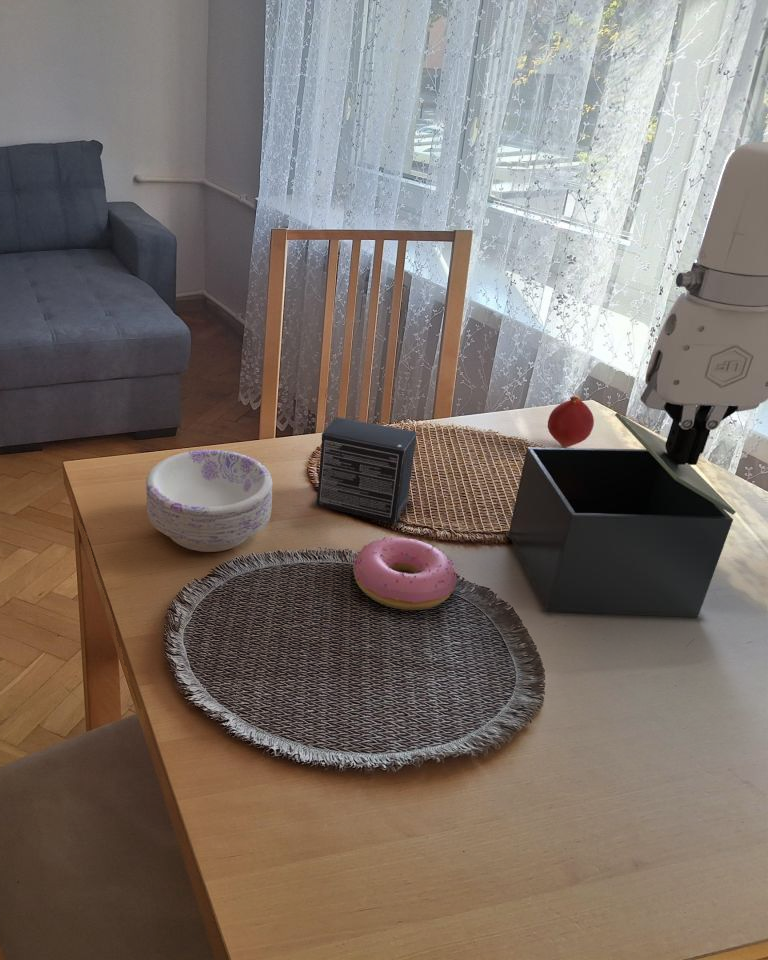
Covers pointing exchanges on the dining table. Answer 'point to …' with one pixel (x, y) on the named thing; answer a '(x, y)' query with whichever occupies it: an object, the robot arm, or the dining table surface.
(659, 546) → the bin
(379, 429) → the small box
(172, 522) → the paper bowls
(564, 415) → the onion
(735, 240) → the robot arm
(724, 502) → the flap
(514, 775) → the dining table surface
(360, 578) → the doughnut
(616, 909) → the dining table surface
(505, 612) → the dining table surface
